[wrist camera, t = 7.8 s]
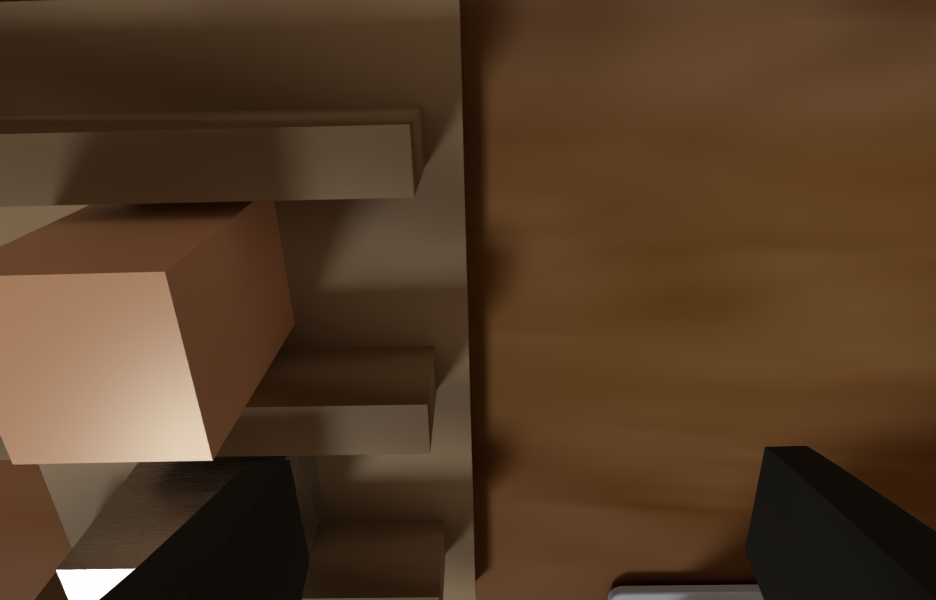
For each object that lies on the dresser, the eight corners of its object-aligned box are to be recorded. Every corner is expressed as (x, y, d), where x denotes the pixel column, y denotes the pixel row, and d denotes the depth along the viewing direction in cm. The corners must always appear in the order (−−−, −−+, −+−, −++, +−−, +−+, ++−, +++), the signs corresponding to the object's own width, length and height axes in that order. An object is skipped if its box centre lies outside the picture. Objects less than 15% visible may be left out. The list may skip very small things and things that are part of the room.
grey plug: (323, 508, 20) (267, 687, 15) (204, 510, 20) (105, 688, 15) (307, 408, 19) (238, 567, 13) (178, 410, 19) (55, 569, 13)
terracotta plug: (294, 324, 17) (212, 460, 12) (156, 327, 17) (13, 464, 12) (271, 186, 16) (164, 271, 10) (119, 191, 16) (-67, 277, 10)
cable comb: (475, 582, 23) (476, 687, 19) (110, 586, 23) (43, 690, 20) (460, -9, 15) (455, -21, 11) (-106, 7, 15) (-293, 0, 11)
